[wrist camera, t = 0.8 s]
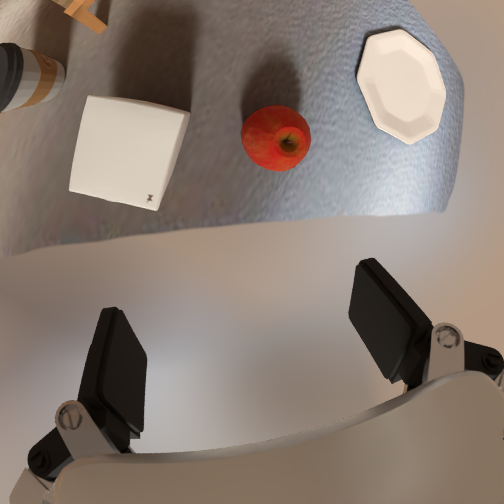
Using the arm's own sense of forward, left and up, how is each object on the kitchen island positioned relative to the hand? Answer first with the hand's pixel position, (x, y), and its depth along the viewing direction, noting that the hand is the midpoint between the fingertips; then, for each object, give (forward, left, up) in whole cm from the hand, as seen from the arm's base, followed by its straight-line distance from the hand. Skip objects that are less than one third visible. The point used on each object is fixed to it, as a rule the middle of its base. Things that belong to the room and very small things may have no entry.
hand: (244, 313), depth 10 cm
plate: (-32, +13, -30) cm, 46 cm away
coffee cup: (+4, -28, -30) cm, 41 cm away
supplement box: (+2, -9, -30) cm, 31 cm away
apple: (-8, +3, -30) cm, 31 cm away
